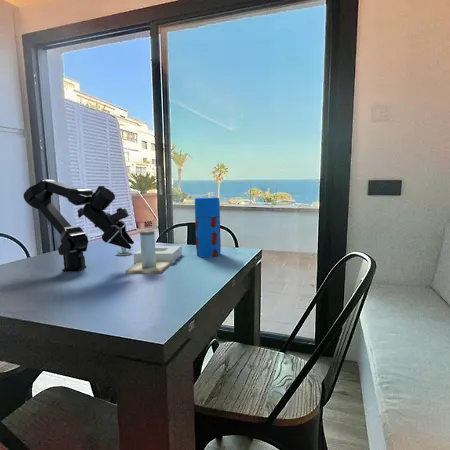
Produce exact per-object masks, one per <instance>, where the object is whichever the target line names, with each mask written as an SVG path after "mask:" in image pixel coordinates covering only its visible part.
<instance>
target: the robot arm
mask: <svg viewBox="0 0 450 450" xmlns="http://www.w3.org/2000/svg"><path fill="white" fill-rule="evenodd" d="M54 194H55V195H58V196H60V197H64V198H65V199H67V201H68V202H70V203H71V205H74V206H83V207H82V208H81V207H80V208H79V209H77V218H81V217H83V216H84V217H86V218H87V219H88V220H89V221H90V222H91V223H92V224H93V225H94V227H95V228H97V229H99V230H101V232H103V233H102V235H101V240H102V241H103V242H104V243H106V244H111V245H114V246H118V247H124V248H126V250H130V249H132V246H131V245H133V244H135V241H134V240H133V238H132V237H131V236H130V235H129V233H128V232H127V225H126V222H125V221H123V219H126V218H128V217H129V216H130V214H129V212H128V210H127V209H126V208H122V207H118V208H116V212H114V213H112V214H111V213H110V212H106V211H105V210H106V209H107V208H108V207H109V206H110V205H111V204H112V203H113V201H114V200H115V199H116V195H115V193H114V192H113V191H112V190H110V189H108V188H106V187H105V186H104V185H98V187H97V188H96V190H95V192H94V191H93V190H92V189H90V188H85V187H84V188H83V187H82V188H81V187H80V188H79V187H74V186H71V185H67V184H64V183H61V182H58V181H56V180H55V179H41V180H40V181H38V182H37V183H35V184H33V185H32V186H29V188H27V189H26V190H25V191H24V193H23V199H24V201H25V203H26V204H27V205H28V206H30V207H31V208H34V209H37V210H39V211H40V212H41V214H43V216H44V217H45V218H46V220H47V221H48V222H49V223H50V224H51V226H52V227H53V228H54V229H55V230H56V231H57V233H59V235H60V242H61V244H60V245H59V247H58V249H57V252H58V254H59V256H62V257H63V266H64V267H63V268H62V269H61V271H62V272H63V271H64V272H68V271H69V272H75V271H76V272H77V271H81V270H83V269H84V268H86V267H87V265H86V261H85V255H84V252H87V250H88V245H89V238H88V236H87V233H86V232H85V231H84V230H83V228H82V227H80V226H75V227H74V226H72V225H71V224H70V223H69V222H68V220H67V219H66V218H65V217H64V216H63V214H62V213H61V212H60V211H59V210H58V209H57V208H56V206H55V205H54V204H53V203H52V196H53V195H54Z"/></svg>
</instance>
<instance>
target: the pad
mask: <svg viewBox="0 0 450 450" xmlns="http://www.w3.org/2000/svg"><path fill="white" fill-rule="evenodd" d="M171 265H172V263H171V262H156V266H155V267H150V268H144V267H142V262H137V263H133V265H131V266H130V267H128V268H127V269H126V270H125V274H162V273H163V272H165V270H166V269H168V267H169V266H171Z"/></svg>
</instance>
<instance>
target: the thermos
mask: <svg viewBox="0 0 450 450" xmlns="http://www.w3.org/2000/svg"><path fill="white" fill-rule="evenodd" d="M220 203H221V202H220V198H219V197H215V196H214V197H195V198H194V216H195V217H194V220H195V221H194V222H195V224H194V225H195V249H196V256H198V257H200V258H215V257H218V256H220V255H221V250H222V249H221V246H222V245H221V243H222V242H221V213H220V212H221V210H220V209H221V208H220V207H221V206H220Z"/></svg>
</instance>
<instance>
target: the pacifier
mask: <svg viewBox="0 0 450 450" xmlns="http://www.w3.org/2000/svg"><path fill="white" fill-rule="evenodd" d="M120 249H121V250H119V249H115V252H117V254H116V256H129V255H132V253H131V251H132V250H133V248H130V249H127V248H124V247H121V248H120Z"/></svg>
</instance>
